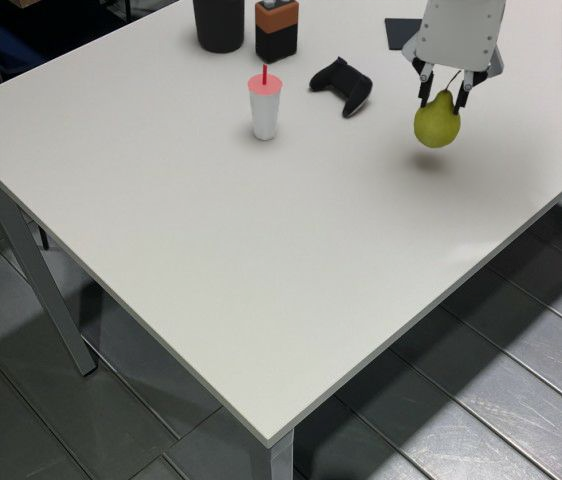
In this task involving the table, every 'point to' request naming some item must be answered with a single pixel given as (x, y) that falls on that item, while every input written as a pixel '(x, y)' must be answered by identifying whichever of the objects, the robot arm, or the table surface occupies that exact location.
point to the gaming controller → (344, 84)
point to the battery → (276, 28)
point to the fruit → (437, 120)
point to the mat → (401, 31)
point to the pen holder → (220, 24)
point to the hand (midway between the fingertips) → (440, 104)
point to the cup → (264, 103)
